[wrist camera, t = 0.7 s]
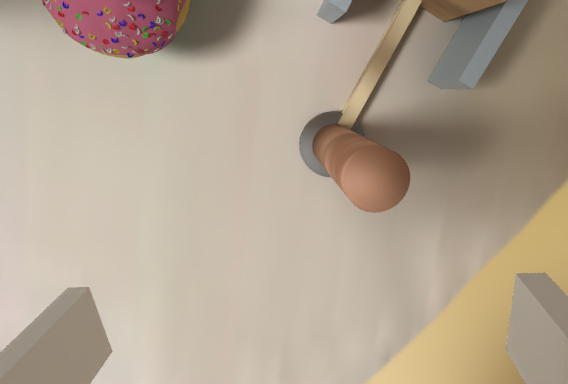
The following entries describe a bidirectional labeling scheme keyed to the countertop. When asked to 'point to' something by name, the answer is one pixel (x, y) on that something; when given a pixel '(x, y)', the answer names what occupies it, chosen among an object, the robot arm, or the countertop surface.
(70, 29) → the cupcake
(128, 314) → the countertop surface
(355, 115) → the tethered block
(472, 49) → the lane
